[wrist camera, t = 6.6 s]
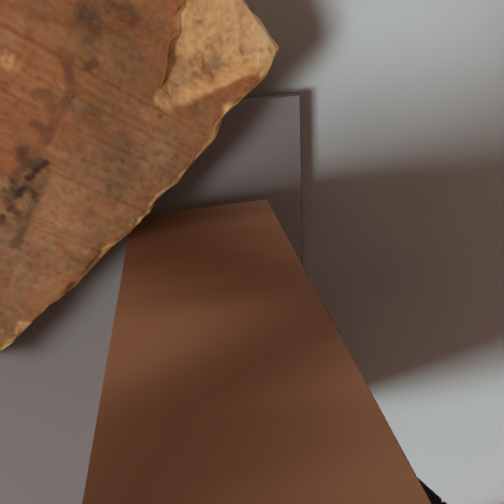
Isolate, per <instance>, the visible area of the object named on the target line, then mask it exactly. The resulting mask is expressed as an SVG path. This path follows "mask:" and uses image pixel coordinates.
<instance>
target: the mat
mask: <svg viewBox="0 0 504 504" xmlns="http://www.w3.org/2000/svg"><path fill="white" fill-rule="evenodd" d="M265 199H267V201H268V203H269V204H270V206H271V208H272V210H273V212H274V214H275V216H276V217H277V219H278V221H279V223H280V225H281V227H282V228H283V230H284V232H285V234H286V236H287V238H288V240H289V241H290V243H291V245H292V247H293V249H294V251H295V253H296V254H297V256H298V258H299V260H300V262H301V264H302V265H303V253H302V199H301V145H300V95H298V94H296V93H288V94H278V95H268V96H258V97H249V98H243V99H242V100H241V101H240V102H239V103H238V104H236V105H235V106H234V107H233V108H232V109H231V110H230V111H229V112H228V113H227V114H226V115H225V116H224V117H223V119H222V122H221V124H220V127H219V130H218V133H217V135H216V138H215V140H214V141H213V142H212V143H211V144H210V145H209V146H208V147H207V148H206V149H205V150H204V151H203V152H202V153H201V154H200V155H199V156H198V157H197V158H196V160H195V161H194V162H193V163H192V165H191V166H190V167H189V168H188V169H187V170H186V171H185V172H184V174H183V175H182V177H181V179H180V180H179V182H178V183H177V184H175V185H174V186H172V187H171V188H169V189H168V190H166V191H165V192H164V193H163V195H162V196H160V197H159V198H158V199H157V200H156V201H155V203H154V206H153V208H152V209H151V211H150V213H149V214H154V213H162V212H170V211H178V210H186V209H194V208H202V207H210V206H218V205H226V204H234V203H242V202H250V201H257V200H265ZM128 236H129V234H128V235H127V236H125V237H124V238H123V239H122V240H120V241H119V242H118V243H116V244H115V245H114V246H112V247H111V248H110V249H109V250H108V251H107V252H106V254H105V255H104V256H103V257H102V258H101V259H100V260H99V261H98V262H97V264H96V265H95V266H94V267H93V268H92V269H91V270H90V271H89V272H88V273H87V275H86V276H85V277H84V278H83V279H82V280H81V281H80V282H79V283H78V284H77V285H76V286H75V287H74V288H72V289H71V290H70V291H69V292H67V293H66V294H65V295H64V296H62V297H61V298H60V299H59V300H57V301H55V302H53V303H52V304H50V305H49V307H48V308H47V309H46V310H45V311H44V312H42V313H41V314H40V315H39V316H38V317H37V318H36V319H34V320H33V322H32V323H31V324H30V325H29V326H28V327H27V328H26V329H25V330H24V331H23V332H22V333H21V334H20V335H19V336H18V337H17V338H16V339H15V340H14V342H13V343H12V344H10V345H9V346H8V347H6V348H5V349H4V350H3V352H2V353H1V354H0V504H82V502H83V496H84V490H85V484H86V479H87V473H88V467H89V461H90V456H91V450H92V444H93V438H94V432H95V427H96V421H97V415H98V409H99V404H100V398H101V392H102V386H103V381H104V375H105V369H106V363H107V357H108V352H109V346H110V340H111V334H112V329H113V323H114V317H115V311H116V305H117V300H118V294H119V288H120V282H121V277H122V271H123V265H124V259H125V254H126V248H127V242H128Z"/></svg>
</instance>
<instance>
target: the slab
mask: <svg viewBox="0 0 504 504" xmlns="http://www.w3.org/2000/svg"><path fill="white" fill-rule="evenodd" d="M82 504H431V502H430V500H429V498H428V497H427V495H426V493H425V491H424V489H423V487H422V486H421V484H420V482H419V480H418V478H417V476H416V474H415V473H414V471H413V469H412V467H411V465H410V463H409V461H408V460H407V458H406V456H405V454H404V452H403V450H402V449H401V447H400V445H399V443H398V441H397V439H396V437H395V436H394V434H393V432H392V430H391V428H390V426H389V425H388V423H387V421H386V419H385V417H384V415H383V413H382V412H381V410H380V408H379V406H378V404H377V402H376V400H375V399H374V397H373V395H372V393H371V391H370V389H369V388H368V386H367V384H366V382H365V380H364V378H363V376H362V375H361V373H360V371H359V369H358V367H357V365H356V363H355V362H354V360H353V358H352V356H351V354H350V352H349V351H348V349H347V347H346V345H345V343H344V341H343V339H342V338H341V336H340V334H339V332H338V330H337V328H336V326H335V325H334V323H333V321H332V319H331V317H330V315H329V314H328V312H327V310H326V308H325V306H324V304H323V302H322V301H321V299H320V297H319V295H318V293H317V291H316V289H315V288H314V286H313V284H312V282H311V280H310V278H309V277H308V275H307V273H306V271H305V269H304V267H303V265H302V264H301V262H300V260H299V258H298V256H297V254H296V253H295V251H294V249H293V247H292V245H291V243H290V241H289V240H288V238H287V236H286V234H285V232H284V230H283V228H282V227H281V225H280V223H279V221H278V219H277V217H276V216H275V214H274V212H273V210H272V208H271V206H270V204H269V203H268V201H267V199H265V200H257V201H250V202H242V203H234V204H226V205H218V206H210V207H202V208H194V209H186V210H178V211H170V212H162V213H154V214H147V215H146V216H145V217H143V219H142V220H141V221H140V223H139V224H138V225H137V226H136V227H135V228H134V229H133V230H132V231H131V233H129V236H128V242H127V248H126V254H125V259H124V265H123V271H122V277H121V282H120V288H119V294H118V300H117V305H116V311H115V317H114V323H113V329H112V334H111V340H110V346H109V352H108V357H107V363H106V369H105V375H104V381H103V386H102V392H101V398H100V404H99V409H98V415H97V421H96V427H95V432H94V438H93V444H92V450H91V456H90V461H89V467H88V473H87V479H86V484H85V490H84V496H83V502H82Z"/></svg>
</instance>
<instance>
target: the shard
mask: <svg viewBox="0 0 504 504" xmlns="http://www.w3.org/2000/svg"><path fill="white" fill-rule="evenodd" d="M278 51H279V46H278V45H277V43H276V42H275V41H274V40H273V39H272V38H271V36H270V34H269V33H268V31H267V30H266V28H265V26H264V25H263V23H262V22H261V21H260V19H259V18H258V17H257V16H256V15H255V14H254V13H253V12H252V11H250V10H249V8H248V6H247V4H246V2H245V0H0V354H1V353H2V352H3V350H4V349H5V348H6V347H8V346H9V345H10V344H12V343H13V342H14V340H15V339H16V338H17V337H18V336H19V335H20V334H21V333H22V332H23V331H24V330H25V329H26V328H27V327H28V326H29V325H30V324H31V323H32V322H33V320H34V319H36V318H37V317H38V316H39V315H40V314H41V313H42V312H44V311H45V310H46V309H47V308H48V307H49V305H50V304H52V303H53V302H55V301H57V300H59V299H60V298H61V297H62V296H64V295H65V294H66V293H67V292H69V291H70V290H71V289H72V288H74V287H75V286H76V285H77V284H78V283H79V282H80V281H81V280H82V279H83V278H84V277H85V276H86V275H87V273H88V272H89V271H90V270H91V269H92V268H93V267H94V266H95V265H96V264H97V262H98V261H99V260H100V259H101V258H102V257H103V256H104V255H105V254H106V252H107V251H108V250H109V249H110V248H111V247H112V246H114V245H115V244H116V243H118V242H119V241H120V240H122V239H123V238H124V237H125V236H127V235H128V234H129V233H131V231H132V230H133V229H134V228H135V227H136V226H137V225H138V224H139V223H140V221H141V220H142V219H143V217H145V216H146V215H147V214H149V213H150V211H151V209H152V208H153V206H154V203H155V201H156V200H157V199H158V198H159V197H160V196H162V195H163V193H164V192H165V191H166V190H168V189H169V188H171V187H172V186H174V185H175V184H177V183H178V182H179V180H180V179H181V177H182V175H183V174H184V172H185V171H186V170H187V169H188V168H189V167H190V166H191V165H192V163H193V162H194V161H195V160H196V158H197V157H198V156H199V155H200V154H201V153H202V152H203V151H204V150H205V149H206V148H207V147H208V146H209V145H210V144H211V143H212V142H213V141H214V140H215V138H216V135H217V133H218V130H219V127H220V124H221V122H222V119H223V117H224V116H225V115H226V114H227V113H228V112H229V111H230V110H231V109H232V108H233V107H234V106H235V105H236V104H238V103H239V102H240V101H241V100H242V99H243V98H244V97H245V96H246V95H247V94H248V93H249V92H250V91H251V90H252V89H253V88H255V87H256V86H257V85H258V84H259V83H260V82H261V81H262V80H263V79H264V78H265V77H266V76H267V74H268V72H269V69H270V67H271V64H272V62H273V59H274V57H275V56H276V54H277V53H278Z"/></svg>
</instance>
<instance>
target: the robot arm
mask: <svg viewBox="0 0 504 504" xmlns="http://www.w3.org/2000/svg"><path fill="white" fill-rule="evenodd" d="M418 480H419V482H420V484H421V486H422V487H423V489H424V491H425V493H426V495H427V497H428V498H429V500H430V502H431V504H447V503H446V502H442V500H441V498H440V497H439V496H438V495H436V494H435V493H434V492H433V491H432V490H431V489H430V488H429V487H427V486H426V485H425V484H424V483H423V482H422V481H421V480H420V479H419V478H418Z"/></svg>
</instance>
